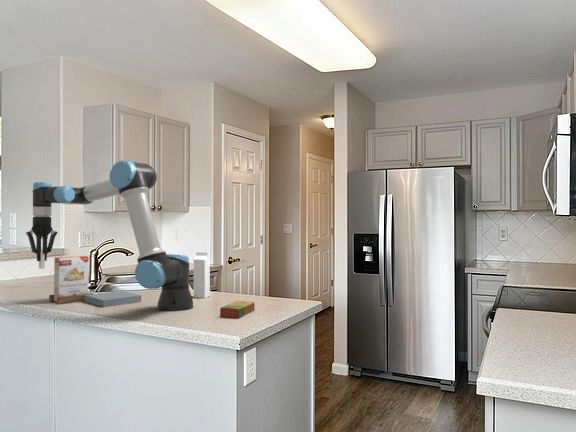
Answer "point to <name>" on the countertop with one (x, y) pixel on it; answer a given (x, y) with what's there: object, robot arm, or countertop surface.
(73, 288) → the cracker box
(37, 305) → the countertop surface
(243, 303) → the carton
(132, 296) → the slate board
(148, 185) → the robot arm
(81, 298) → the slot rack
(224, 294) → the countertop surface
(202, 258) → the milk
